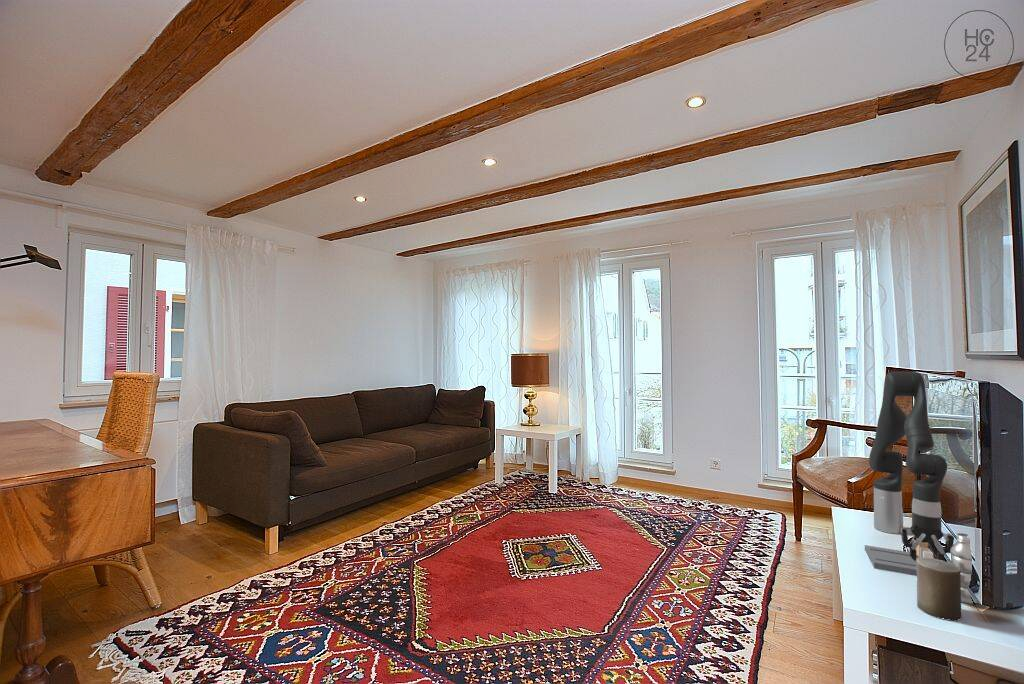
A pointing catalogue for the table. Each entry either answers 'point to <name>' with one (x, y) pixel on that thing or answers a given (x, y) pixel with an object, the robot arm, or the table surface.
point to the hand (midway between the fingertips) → (926, 561)
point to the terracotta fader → (923, 545)
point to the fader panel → (892, 560)
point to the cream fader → (925, 553)
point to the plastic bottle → (963, 564)
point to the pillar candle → (939, 588)
